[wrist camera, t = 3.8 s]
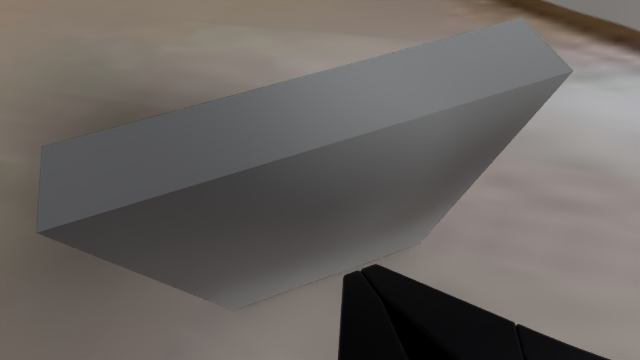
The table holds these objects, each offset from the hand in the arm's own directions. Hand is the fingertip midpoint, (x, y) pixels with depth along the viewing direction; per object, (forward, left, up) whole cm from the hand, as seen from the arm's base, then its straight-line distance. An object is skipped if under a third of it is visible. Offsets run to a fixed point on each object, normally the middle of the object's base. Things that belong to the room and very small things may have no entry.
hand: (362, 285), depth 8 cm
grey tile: (+3, -1, -9) cm, 9 cm away
